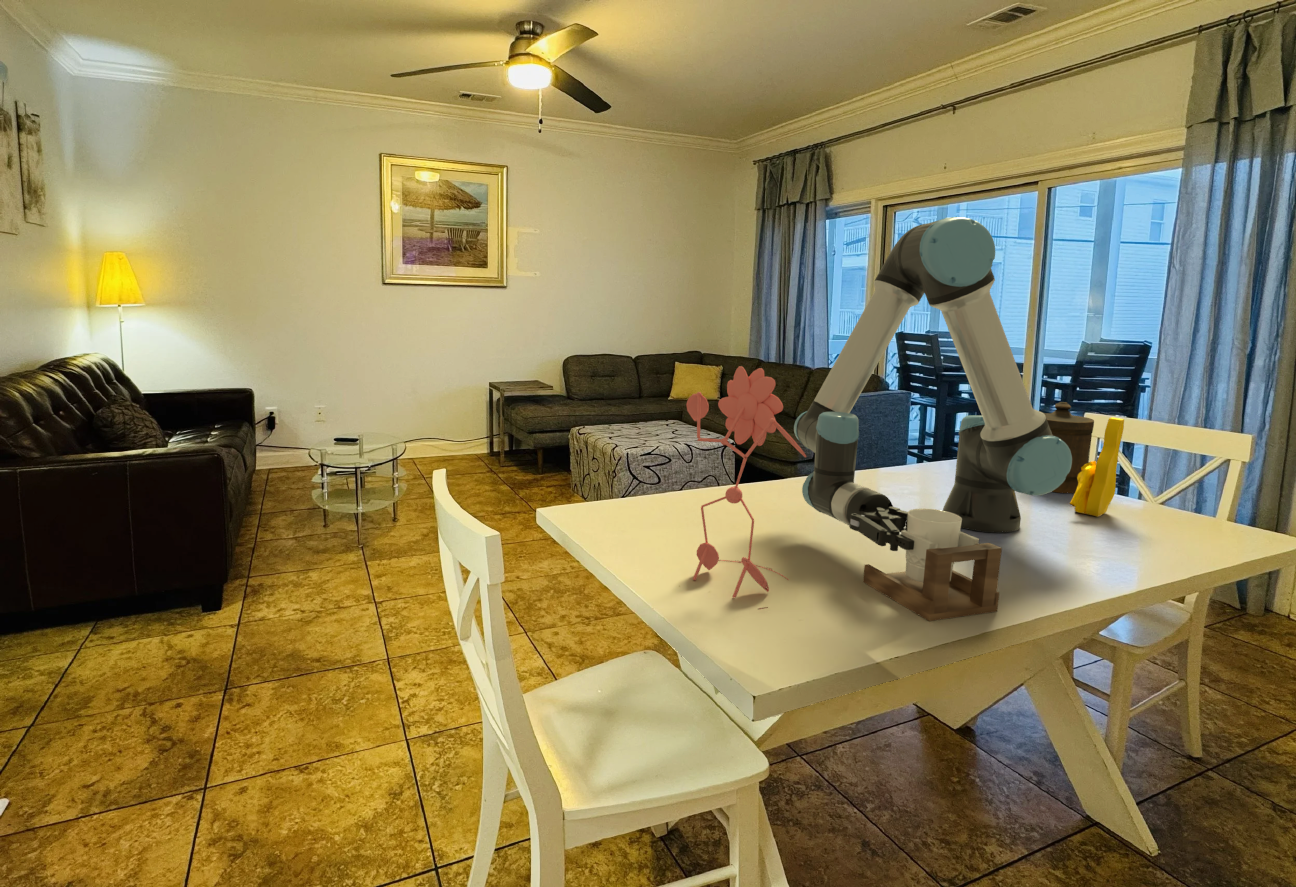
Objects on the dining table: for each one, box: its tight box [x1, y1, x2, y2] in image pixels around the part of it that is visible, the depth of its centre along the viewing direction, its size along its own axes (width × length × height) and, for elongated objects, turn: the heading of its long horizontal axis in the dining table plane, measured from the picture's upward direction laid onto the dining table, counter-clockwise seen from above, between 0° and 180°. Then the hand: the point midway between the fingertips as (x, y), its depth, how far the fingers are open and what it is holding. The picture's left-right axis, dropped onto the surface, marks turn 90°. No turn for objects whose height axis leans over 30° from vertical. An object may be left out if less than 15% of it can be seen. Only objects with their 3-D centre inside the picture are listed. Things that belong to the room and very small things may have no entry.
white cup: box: [905, 508, 962, 582], centre depth 116 cm, size 8×8×10 cm
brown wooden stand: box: [862, 542, 1003, 622], centre depth 117 cm, size 16×12×10 cm
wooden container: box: [1043, 401, 1095, 494], centre depth 191 cm, size 15×15×22 cm
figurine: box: [685, 365, 807, 610], centre depth 120 cm, size 15×26×35 cm, turn 39°
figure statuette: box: [1069, 417, 1125, 518], centre depth 166 cm, size 18×8×22 cm, turn 134°
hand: (953, 549), depth 112 cm, fingers closed on white cup, 8 cm apart
